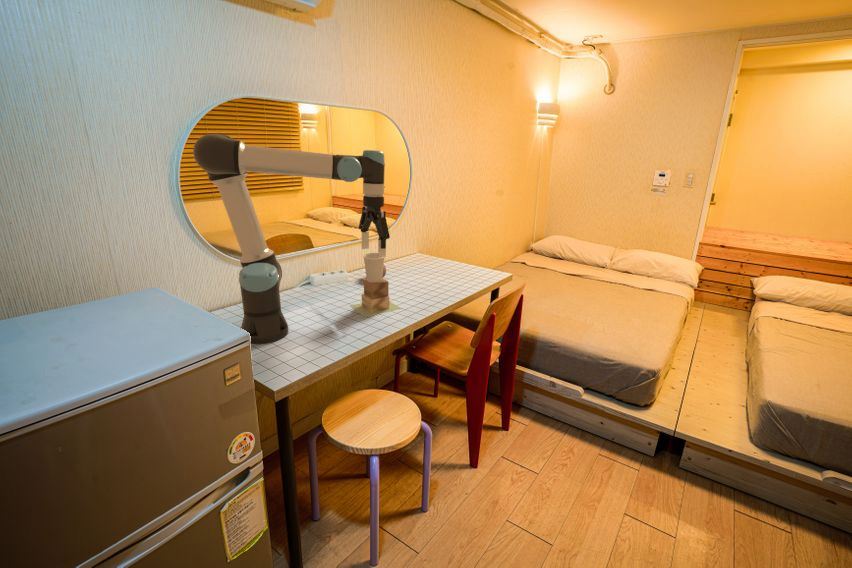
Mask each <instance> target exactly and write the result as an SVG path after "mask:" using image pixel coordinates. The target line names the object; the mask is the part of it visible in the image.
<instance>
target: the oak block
mask: <svg viewBox="0 0 852 568" xmlns="http://www.w3.org/2000/svg"><path fill="white" fill-rule="evenodd" d="M389 301H390V295H388V296H387V297H382V298H377V299H371V298H369V297H368V296H366V295H365V294H364V293H361V303H362V306H363V307H364V308H366V309H367V310H368V311H370V312H375V311H380V310H384V309H389Z"/></svg>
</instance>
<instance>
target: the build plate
mask: <svg viewBox="0 0 852 568" xmlns="http://www.w3.org/2000/svg"><path fill="white" fill-rule="evenodd" d="M349 307H351V308H352V309H353V310H355V311H356V312H358V313H359V315H361V316H362V317H364V318H365V317H371V316H375V315H379V314H384V313H389V312H393V311H397V310H401V309H402V308H401V307H400V306H398V305H397V304H395V303H394V302H392V301H390V300H389V309H384V310H380V311H375V312H370V311H368V310H367V309H366V308H364V307H363V306H362V302H359V303H356V304H351V305H349Z"/></svg>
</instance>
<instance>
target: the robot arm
mask: <svg viewBox="0 0 852 568" xmlns="http://www.w3.org/2000/svg"><path fill="white" fill-rule="evenodd" d="M192 154H193V159H194V160H195V163H196V164H197V165H198V167H199V168H201V170H203V171H205V172H206V174H207V177H208V179H209V183H212V184H213V185H215V186H216V187H217V189H218V192H219V194H220V197H221V200H222V202H223V205H224V207H225V210H226V211H225V212H226V213H227V216H228V219H229V222H230V224H231V227H232V229H233V233H234V236H235V238H236V241H237V244H238V246H239V249H240V252H241V257H240V259H239V262H240V265H241V267H242V268H241V269H240V270H239V273H238V282H239V285H240V294H241V301H242V308H243V310H242V311H243V318H242V322H241V326H240V329H241V328H242V329H244V330H246V331H247V332H249V333H250V336H251V343H250V344H255V345H256V344H259V345H260V344H267V343H273V342H276V341H279V340H281V339H283V338H284V337H286V336H287V335H288V334H289V325H288V322H287V320H286V318H285V316H284V313H283V311H282V307H281V306H282V305H281V303H282V302H281V294H280V293H281V292H280V286H281V285H280V284H281V281H282V279H283V269H282V266H281V265H280V262H279V261H278V260H277V257H276V255H275V251H274V250H273V249H270V248H269V247H268V244H267V241H266V239H265V235H264V233H263V230H262V227H261V224H260V221H259V218H258V215H257V212H256V208H254V203H253V201H252V199H251V198H252V197H251V196H250V195H251V194H250V191H249V189H248V187H247V182H246V178H247V176H248V173H251V172H252V173H259V174H270V175H271V174H273V175H282V176H291V177H292V176H293V177H305V178H313V179H314V178H315V179H323V180H324V179H325V180H337V181H344V182H346V183H352V182H355V181H357V180H358V179H362V194H363V197H362V202H363V203H362V206H361V207H362V208H361V215H360V220H359V224H358V230H360V232H361V249H362V250H366V249H367V250H369V249H370V227H371V224H372V223H373V224H374V226H375V229H376V231H377V235H378V238H377V241H378V242H377V243H378V245H377V247H378V249H377V250H378V251H377V253H378V257H387V240H388V239H390V238H391V236H390V230H389V227H388V222H387V216H386V215H387V214H386V211H385V210H381V209H382V208H383V207H384V206H385V196H384V195H385V187H386V185H385V170H386V169H385V167H386V164H385V152H384V151H382V150H369V149H368V150H367V149H364V150H363V151H362V155H349V154H347V155H346V154H328V153H320V152H313V151H302V150H295V149H294V150H293V149H284V148H276V147H275V148H274V147H267V146H256V145H250V144H249V145H248V144H245V142H244V141H242V140H236V139H235V138H232V137H231V136H229V135H226V134H223V133H208V134H205V135H202V136H200V137H199V138H197V140H196V142H194V145H193V150H192Z"/></svg>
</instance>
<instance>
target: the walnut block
mask: <svg viewBox="0 0 852 568" xmlns="http://www.w3.org/2000/svg"><path fill="white" fill-rule="evenodd" d="M363 294H365V295H366V296H368V297H369V298H371V299H377V298H382V297H387V296H389V281H388V280H387V279H385V278H384V277H383V278H382V281H381V282H379V283H370V282H368V281H367V278H364V279H363Z"/></svg>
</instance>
